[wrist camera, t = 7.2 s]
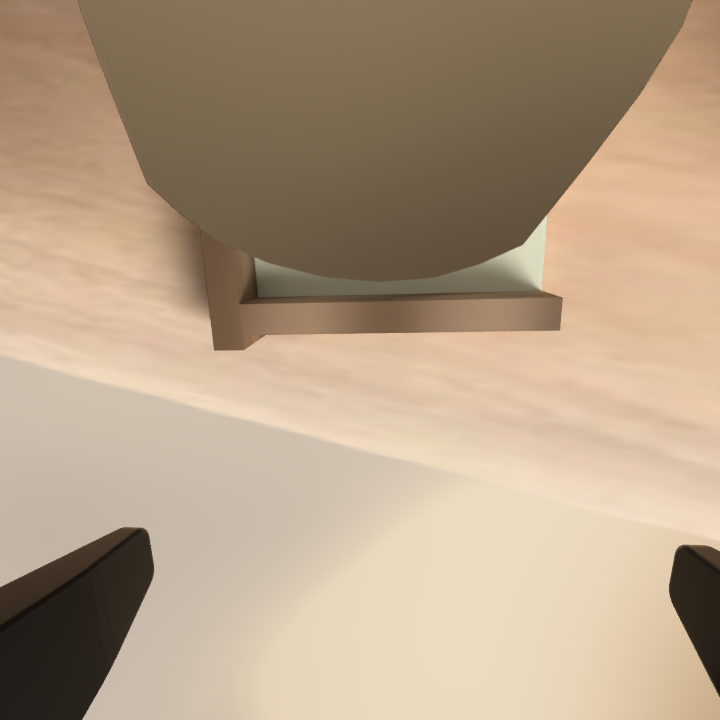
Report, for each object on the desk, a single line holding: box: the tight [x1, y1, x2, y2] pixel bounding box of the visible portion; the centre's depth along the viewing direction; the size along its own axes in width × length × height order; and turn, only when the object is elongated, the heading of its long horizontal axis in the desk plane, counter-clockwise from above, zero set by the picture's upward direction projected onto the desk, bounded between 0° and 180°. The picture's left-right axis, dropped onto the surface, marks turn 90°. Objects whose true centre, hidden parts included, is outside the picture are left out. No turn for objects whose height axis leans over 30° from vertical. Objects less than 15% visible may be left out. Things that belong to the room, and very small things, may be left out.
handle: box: [78, 0, 692, 282], centre depth 10 cm, size 5×6×15 cm
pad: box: [254, 215, 547, 297], centre depth 18 cm, size 12×9×1 cm
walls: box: [200, 229, 563, 350], centre depth 17 cm, size 13×11×3 cm
